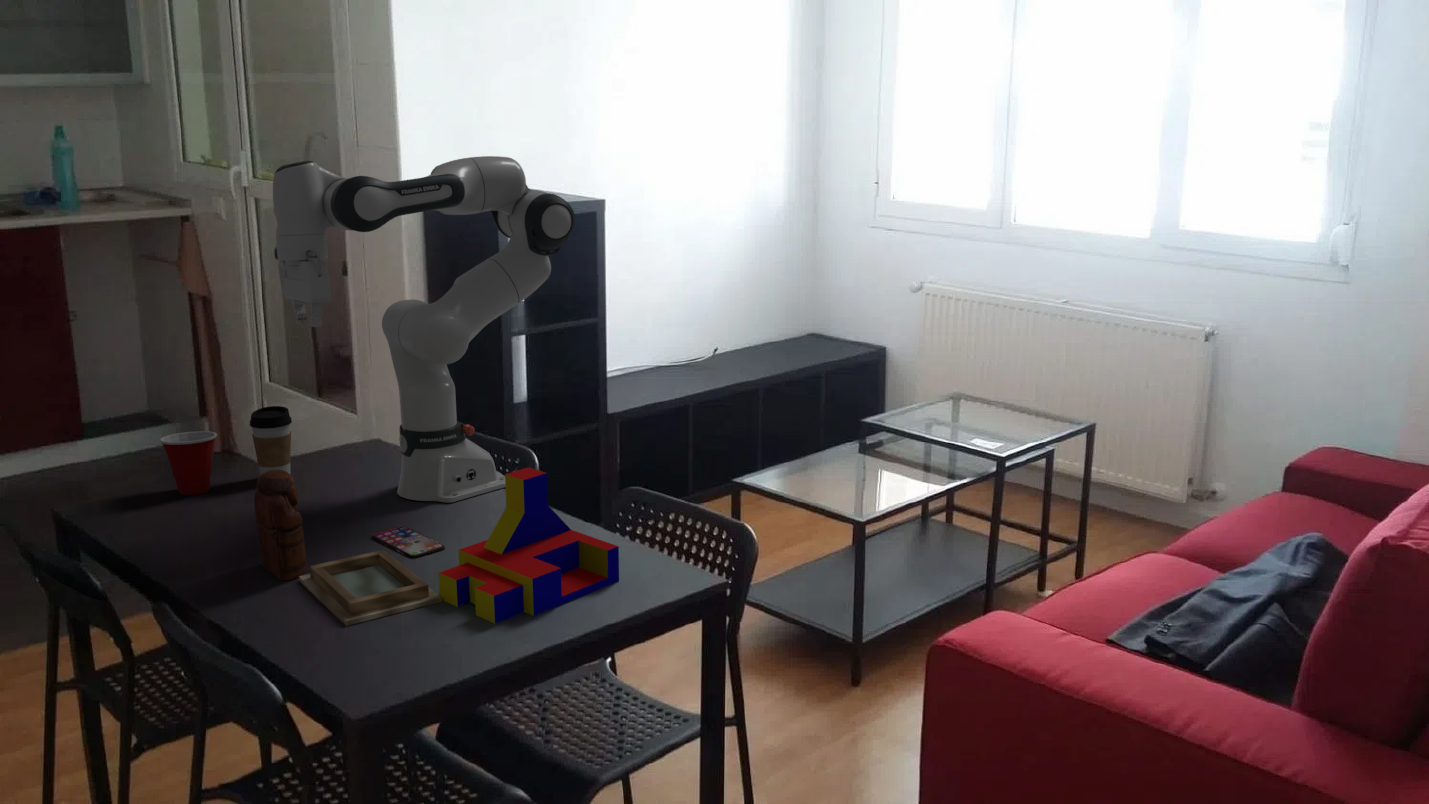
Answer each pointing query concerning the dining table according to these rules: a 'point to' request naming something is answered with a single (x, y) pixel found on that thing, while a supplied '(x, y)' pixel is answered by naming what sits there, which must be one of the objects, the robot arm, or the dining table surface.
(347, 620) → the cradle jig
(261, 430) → the coffee cup
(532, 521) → the building blocks toy
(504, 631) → the dining table surface
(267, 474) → the wooden figurine
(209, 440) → the plastic cup
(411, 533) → the smartphone
